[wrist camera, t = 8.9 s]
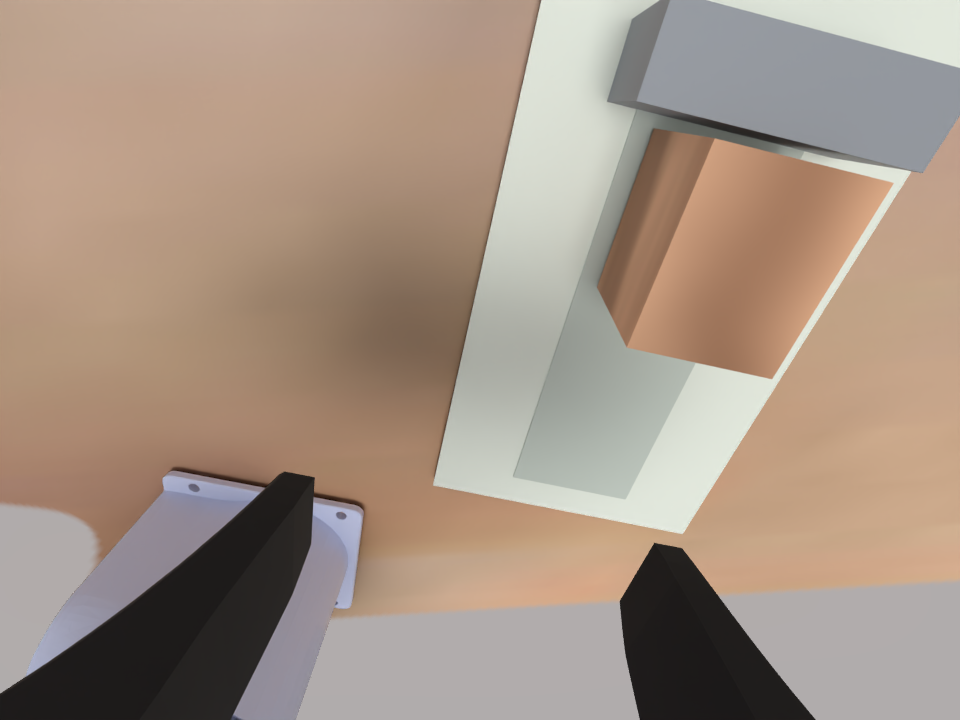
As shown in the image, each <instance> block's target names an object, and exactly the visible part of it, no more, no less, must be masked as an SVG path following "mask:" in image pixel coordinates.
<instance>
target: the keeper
mask: <svg viewBox="0 0 960 720" xmlns="http://www.w3.org/2000/svg"><path fill="white" fill-rule="evenodd" d="M893 184H894V183H892V182H888V181H884V180H880V179H876V178H872V177H868V176H864V175H860V174H856V173H852V172H848V171H844V170H840V169H836V168H832V167H828V166H824V165H820V164H816V163H812V162H808V161H804V160H800V159H796V158H792V157H788V156H784V155H780V154H776V153H772V152H768V151H764V150H760V149H756V148H752V147H748V146H744V145H740V144H736V143H732V142H728V141H724V140H720V139H716V138H710V137H704V136H698V135H692V134H686V133H680V132H674V131H667V130H661V129H655V128H654V130H653V132H652V135H651V138H650V141H649V143H648V146H647V149H646V152H645V155H644V157H643V160H642V163H641V166H640V169H639V171H638V174H637V177H636V180H635V183H634V185H633V188H632V191H631V194H630V196H629V199H628V202H627V205H626V208H625V210H624V213H623V216H622V219H621V222H620V224H619V227H618V230H617V233H616V236H615V238H614V241H613V244H612V247H611V249H610V252H609V255H608V258H607V261H606V263H605V266H604V269H603V272H602V275H601V277H600V280H599V283H598V286H597V288H598V290H599V292H600V294H601V297H602V299H603V301H604V303H605V305H606V307H607V309H608V311H609V313H610V315H611V317H612V319H613V321H614V323H615V325H616V327H617V329H618V331H619V333H620V335H621V337H622V339H623V341H624V343H625V345H626V347H627V348H631V349H635V350H640V351H644V352H649V353H654V354H658V355H663V356H667V357H672V358H677V359H681V360H686V361H690V362H695V363H699V364H704V365H709V366H713V367H718V368H722V369H727V370H731V371H736V372H741V373H745V374H750V375H754V376H759V377H764V378H768V379H773V377H774V376H775V374H776V372H777V371H778V369H779V367H780V366H781V364H782V363H783V361H784V359H785V358H786V356H787V355H788V353H789V351H790V350H791V348H792V347H793V345H794V343H795V342H796V340H797V338H798V337H799V335H800V334H801V332H802V330H803V329H804V327H805V326H806V324H807V322H808V321H809V319H810V318H811V316H812V314H813V313H814V311H815V309H816V308H817V306H818V305H819V303H820V301H821V300H822V298H823V297H824V295H825V293H826V292H827V290H828V289H829V287H830V285H831V284H832V282H833V281H834V279H835V277H836V276H837V274H838V272H839V271H840V269H841V268H842V266H843V264H844V263H845V261H846V260H847V258H848V256H849V255H850V253H851V252H852V250H853V248H854V247H855V245H856V243H857V242H858V240H859V239H860V237H861V235H862V234H863V232H864V231H865V229H866V227H867V226H868V224H869V223H870V221H871V219H872V218H873V216H874V214H875V213H876V211H877V210H878V208H879V206H880V205H881V203H882V202H883V200H884V198H885V197H886V195H887V194H888V192H889V190H890V189H891V187H892V186H893Z"/></svg>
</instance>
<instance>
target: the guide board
mask: <svg viewBox="0 0 960 720" xmlns="http://www.w3.org/2000/svg"><path fill="white" fill-rule="evenodd" d="M959 116H960V0H541V3H540V7H539V12H538V16H537V21H536V25H535V30H534V34H533V39H532V43H531V48H530V52H529V57H528V61H527V66H526V70H525V75H524V79H523V84H522V88H521V93H520V97H519V102H518V106H517V111H516V115H515V120H514V124H513V128H512V133H511V137H510V142H509V146H508V151H507V155H506V160H505V164H504V169H503V173H502V178H501V182H500V187H499V191H498V196H497V200H496V205H495V209H494V214H493V218H492V223H491V227H490V232H489V236H488V241H487V245H486V249H485V254H484V258H483V263H482V267H481V272H480V276H479V281H478V285H477V290H476V294H475V299H474V303H473V308H472V312H471V317H470V321H469V326H468V330H467V335H466V339H465V344H464V348H463V353H462V357H461V361H460V366H459V370H458V375H457V379H456V384H455V388H454V393H453V397H452V402H451V406H450V411H449V415H448V420H447V424H446V429H445V433H444V438H443V442H442V447H441V451H440V456H439V460H438V465H437V469H436V474H435V478H434V483H433V485H434V486H439V487H444V488H449V489H454V490H459V491H465V492H470V493H475V494H480V495H485V496H490V497H495V498H500V499H506V500H511V501H516V502H521V503H526V504H531V505H536V506H542V507H547V508H552V509H557V510H562V511H567V512H572V513H577V514H583V515H588V516H593V517H598V518H603V519H608V520H613V521H619V522H624V523H629V524H634V525H639V526H644V527H649V528H654V529H660V530H665V531H670V532H675V533H680V534H683V532H684V531H685V529H686V528H687V526H688V524H689V523H690V521H691V520H692V518H693V517H694V515H695V513H696V512H697V510H698V509H699V507H700V505H701V504H702V502H703V501H704V499H705V498H706V496H707V494H708V493H709V491H710V490H711V488H712V486H713V485H714V483H715V482H716V480H717V478H718V477H719V475H720V474H721V472H722V471H723V469H724V467H725V466H726V464H727V463H728V461H729V459H730V458H731V456H732V455H733V453H734V452H735V450H736V448H737V447H738V445H739V444H740V442H741V440H742V439H743V437H744V436H745V434H746V433H747V431H748V429H749V428H750V426H751V425H752V423H753V421H754V420H755V418H756V417H757V415H758V414H759V412H760V410H761V409H762V407H763V406H764V404H765V402H766V401H767V399H768V398H769V396H770V394H771V393H772V391H773V390H774V388H775V387H776V385H777V383H778V382H779V380H780V379H781V377H782V375H783V374H784V372H785V371H786V369H787V368H788V366H789V364H790V363H791V361H792V360H793V358H794V356H795V355H796V353H797V352H798V350H799V349H800V347H801V345H802V344H803V342H804V341H805V339H806V337H807V336H808V334H809V333H810V331H811V330H812V328H813V326H814V325H815V323H816V322H817V320H818V318H819V317H820V315H821V314H822V312H823V310H824V309H825V307H826V306H827V304H828V303H829V301H830V299H831V298H832V296H833V295H834V293H835V291H836V290H837V288H838V287H839V285H840V284H841V282H842V280H843V279H844V277H845V276H846V274H847V272H848V271H849V269H850V268H851V266H852V265H853V263H854V261H855V260H856V258H857V257H858V255H859V253H860V252H861V250H862V249H863V247H864V246H865V244H866V242H867V241H868V239H869V238H870V236H871V234H872V233H873V231H874V230H875V228H876V227H877V225H878V223H879V222H880V220H881V219H882V217H883V215H884V214H885V212H886V211H887V209H888V207H889V206H890V204H891V203H892V201H893V200H894V198H895V196H896V195H897V193H898V192H899V190H900V188H901V187H902V185H903V184H904V182H905V181H906V179H907V177H908V176H909V174H910V173H911V171H913V172H919V173H923V172H924V170H925V169H926V167H927V166H928V164H929V163H930V161H931V159H932V158H933V156H934V155H935V153H936V152H937V150H938V149H939V147H940V145H941V144H942V142H943V141H944V139H945V138H946V136H947V135H948V133H949V131H950V130H951V128H952V127H953V125H954V124H955V122H956V121H957V119H958V117H959ZM654 128H655V129H661V130H667V131H674V132H680V133H686V134H692V135H698V136H704V137H710V138H716V139H720V140H724V141H728V142H732V143H736V144H740V145H744V146H748V147H752V148H756V149H760V150H764V151H768V152H772V153H776V154H780V155H784V156H788V157H792V158H796V159H800V160H804V161H808V162H812V163H816V164H820V165H824V166H828V167H832V168H836V169H840V170H844V171H848V172H852V173H856V174H860V175H864V176H868V177H872V178H876V179H880V180H884V181H888V182H892V183H894V184H893V186H892V187H891V189H890V190H889V192H888V194H887V195H886V197H885V198H884V200H883V202H882V203H881V205H880V206H879V208H878V210H877V211H876V213H875V214H874V216H873V218H872V219H871V221H870V223H869V224H868V226H867V227H866V229H865V231H864V232H863V234H862V235H861V237H860V239H859V240H858V242H857V243H856V245H855V247H854V248H853V250H852V252H851V253H850V255H849V256H848V258H847V260H846V261H845V263H844V264H843V266H842V268H841V269H840V271H839V272H838V274H837V276H836V277H835V279H834V281H833V282H832V284H831V285H830V287H829V289H828V290H827V292H826V293H825V295H824V297H823V298H822V300H821V301H820V303H819V305H818V306H817V308H816V309H815V311H814V313H813V314H812V316H811V318H810V319H809V321H808V322H807V324H806V326H805V327H804V329H803V330H802V332H801V334H800V335H799V337H798V338H797V340H796V342H795V343H794V345H793V347H792V348H791V350H790V351H789V353H788V355H787V356H786V358H785V359H784V361H783V363H782V364H781V366H780V367H779V369H778V371H777V372H776V374H775V376H774V377H773V379H768V378H764V377H759V376H754V375H750V374H745V373H741V372H736V371H731V370H727V369H722V368H718V367H713V366H709V365H704V364H699V363H695V362H690V361H686V360H681V359H677V358H672V357H667V356H663V355H658V354H654V353H649V352H644V351H640V350H635V349H631V348H627V347H626V345H625V343H624V341H623V339H622V337H621V335H620V333H619V331H618V329H617V327H616V325H615V323H614V321H613V319H612V317H611V315H610V313H609V311H608V309H607V307H606V305H605V303H604V301H603V299H602V297H601V294H600V292H599V290H598V288H597V286H598V283H599V280H600V277H601V275H602V272H603V269H604V266H605V263H606V261H607V258H608V255H609V252H610V249H611V247H612V244H613V241H614V238H615V236H616V233H617V230H618V227H619V224H620V222H621V219H622V216H623V213H624V210H625V208H626V205H627V202H628V199H629V196H630V194H631V191H632V188H633V185H634V183H635V180H636V177H637V174H638V171H639V169H640V166H641V163H642V160H643V157H644V155H645V152H646V149H647V146H648V143H649V141H650V138H651V135H652V132H653V130H654Z"/></svg>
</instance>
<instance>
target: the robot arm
mask: <svg viewBox="0 0 960 720" xmlns="http://www.w3.org/2000/svg"><path fill="white" fill-rule="evenodd" d="M314 480H315V477H310V476H305V475H299V474H294V473H289V472H283V473H281V474H279V475H278V476H277V477H276V478H275V479H274V480H273V481H272V482H271V483H270V484H269V485H268V486H267V487H266V488H263V487H258V486H253V485H248V484H242V483H237V482H232V481H227V480H221V479H216V478H211V477H206V476H200V475H195V474H190V473H185V472H179V471H170V472H168V473H167V474H166V475H165V476H164V478H163V487H164V491H163V492H162V493H161V495H160V496H159V497H158V498H157V499H156V500H155V501H154V502H153V504H152V505H151V506H150V507H149V508H148V509H147V510H146V512H145V513H144V514H143V515H142V516H141V517H140V518H139V519H138V521H137V522H136V523H135V524H134V525H133V526H132V527H131V528H130V530H129V531H128V532H127V533H126V534H125V535H124V536H123V537H122V539H121V540H120V541H119V542H118V543H117V544H116V545H115V547H114V548H113V549H112V550H111V551H110V552H109V553H108V554H107V556H106V557H105V558H104V559H103V560H102V561H101V562H100V563H99V565H98V566H97V567H96V568H95V569H94V570H93V571H92V572H91V574H90V575H89V576H88V577H87V578H86V579H85V580H84V582H83V583H82V584H81V585H80V586H79V587H78V588H77V589H76V591H75V592H74V593H73V594H72V595H71V596H70V598H69V599H68V600H67V601H66V603H65V604H64V605H63V606H62V608H61V609H60V611H59V612H58V614H57V615H56V616H55V618H54V619H53V621H52V623H51V624H50V626H49V628H48V629H47V631H46V633H45V634H44V636H43V638H42V640H41V641H40V644H39V645H38V647H37V649H36V651H35V654H34V655H33V658H32V660H31V662H30V665H29V667H28V670H27V674H26V677H25V678H23V679H22V680H20V681H19V682H17V683H16V684H14V685H13V686H11V687H10V688H8V689H7V690H5V691H3V692H2V693H0V720H296V717H297V714H298V712H299V709H300V706H301V702H302V700H303V697H304V694H305V691H306V688H307V685H308V682H309V679H310V676H311V673H312V671H313V668H314V665H315V662H316V659H317V656H318V653H319V650H320V647H321V644H322V641H323V639H324V635H325V632H326V630H327V627H328V624H329V621H330V618H331V615H332V612H333V609H334V608H340V609H347V608H349V607H350V606H351V604H352V601H353V594H354V586H355V579H356V571H357V563H358V555H359V547H360V540H361V532H362V524H363V516H364V512H363V510H362V509H361V508H360V507H359V506H356V505H353V504H347V503H342V502H337V501H332V500H326V499H321V498H316V497H314ZM342 512H343V513H342ZM620 609H621V619H622V629H623V638H624V646H625V654H626V659H627V664H628V668H629V673H630V678H631V682H632V686H633V691H634V696H635V700H636V704H637V709H638V713H639V718H640V720H815V719H814V717H813V716H812V715H811V714H810V713H809V711H808V710H807V709H806V708H805V707H804V705H803V704H802V703H801V702H800V701H799V699H798V698H797V697H796V696H795V694H794V693H793V692H792V691H791V690H790V689H789V687H788V686H787V685H786V683H785V682H784V681H783V680H782V679H781V677H780V676H779V675H778V673H777V672H776V671H775V670H774V668H773V667H772V666H771V665H770V664H769V662H768V661H767V660H766V658H765V657H764V656H763V654H762V653H761V652H760V651H759V649H758V648H757V647H756V646H755V644H754V643H753V642H752V640H751V639H750V638H749V636H748V635H747V634H746V632H745V631H744V630H743V628H742V627H741V626H740V624H739V623H738V622H737V621H736V619H735V618H734V616H733V615H732V614H731V613H730V611H729V610H728V608H727V607H726V606H725V605H724V603H723V602H722V600H721V599H720V598H719V596H718V595H717V594H716V592H715V591H714V590H713V588H712V587H711V586H710V584H709V583H708V582H707V580H706V579H705V578H704V576H703V575H702V574H701V572H700V571H699V570H698V568H697V567H696V566H695V564H694V563H693V562H692V560H691V559H690V558H689V557H688V555H687V554H686V553H685V552H684V550H683V549H682V548H678V547H673V546H667V545H662V544H657V543H654V545H653V546H652V548H651V550H650V551H649V553H648V555H647V556H646V558H645V560H644V561H643V563H642V565H641V566H640V568H639V570H638V571H637V573H636V575H635V576H634V578H633V580H632V582H631V583H630V585H629V587H628V588H627V590H626V592H625V593H624V595H623V597H622V598H621V600H620Z"/></svg>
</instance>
